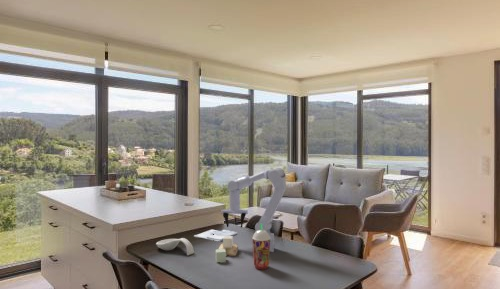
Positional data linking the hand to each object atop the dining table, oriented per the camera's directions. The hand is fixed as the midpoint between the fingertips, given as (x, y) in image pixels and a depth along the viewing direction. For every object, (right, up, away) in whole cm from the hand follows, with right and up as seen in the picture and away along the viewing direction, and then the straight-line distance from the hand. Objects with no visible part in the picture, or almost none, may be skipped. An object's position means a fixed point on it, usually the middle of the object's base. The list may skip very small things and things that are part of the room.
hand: (234, 226), depth 189 cm
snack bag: (-12, -11, +21) cm, 26 cm away
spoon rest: (-31, -11, -7) cm, 34 cm away
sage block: (-6, -11, -23) cm, 26 cm away
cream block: (-3, -8, -12) cm, 14 cm away
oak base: (-3, -11, -11) cm, 16 cm away
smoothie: (+14, -11, -32) cm, 36 cm away
